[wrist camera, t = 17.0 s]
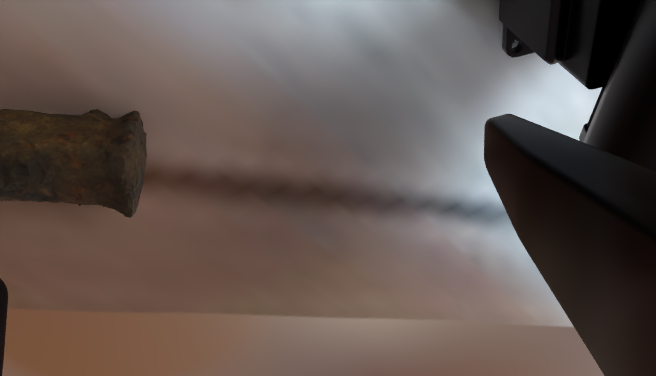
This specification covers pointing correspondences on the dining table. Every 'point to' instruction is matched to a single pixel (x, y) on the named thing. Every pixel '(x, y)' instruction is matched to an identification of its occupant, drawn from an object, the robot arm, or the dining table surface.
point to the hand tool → (72, 158)
